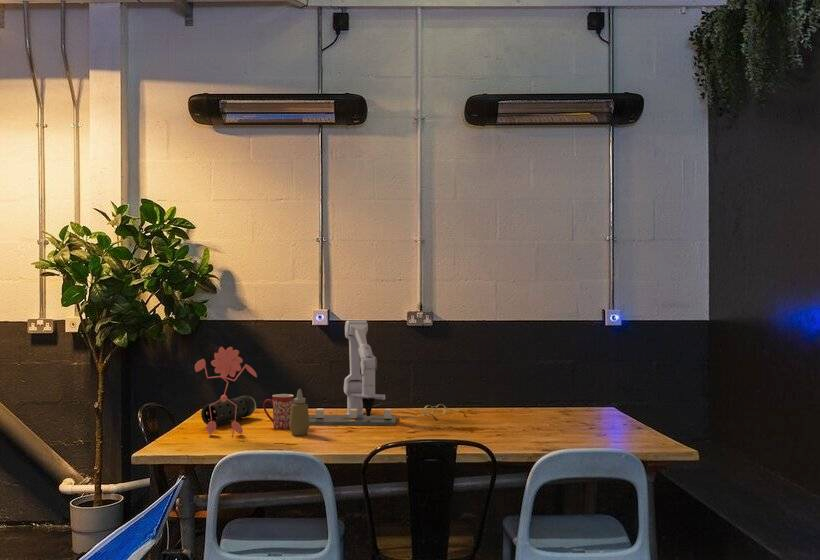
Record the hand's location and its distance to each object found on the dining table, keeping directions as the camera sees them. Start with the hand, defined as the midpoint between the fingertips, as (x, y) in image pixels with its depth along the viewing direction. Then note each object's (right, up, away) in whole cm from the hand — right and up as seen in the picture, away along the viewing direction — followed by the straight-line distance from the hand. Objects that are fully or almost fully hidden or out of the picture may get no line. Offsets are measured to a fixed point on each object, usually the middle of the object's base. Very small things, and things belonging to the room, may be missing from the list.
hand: (368, 415), depth 309 cm
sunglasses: (+33, -4, +14) cm, 36 cm away
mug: (-37, -3, -13) cm, 40 cm away
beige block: (-21, -1, +1) cm, 22 cm away
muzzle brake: (-61, -3, -1) cm, 61 cm away
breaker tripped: (-6, -1, 0) cm, 7 cm away
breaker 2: (+9, -1, 0) cm, 9 cm away
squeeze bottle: (-26, -2, -29) cm, 39 cm away
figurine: (-55, -2, -28) cm, 62 cm away
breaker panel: (-8, -3, 0) cm, 9 cm away
